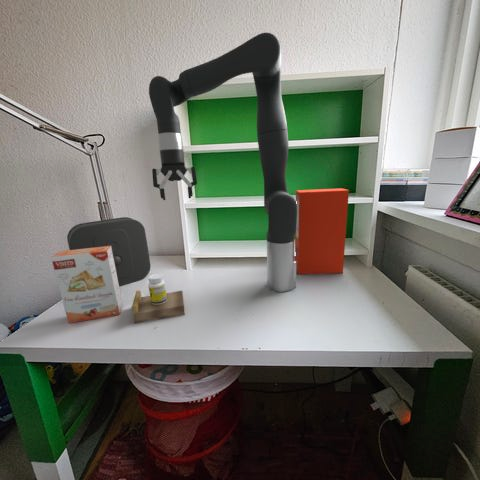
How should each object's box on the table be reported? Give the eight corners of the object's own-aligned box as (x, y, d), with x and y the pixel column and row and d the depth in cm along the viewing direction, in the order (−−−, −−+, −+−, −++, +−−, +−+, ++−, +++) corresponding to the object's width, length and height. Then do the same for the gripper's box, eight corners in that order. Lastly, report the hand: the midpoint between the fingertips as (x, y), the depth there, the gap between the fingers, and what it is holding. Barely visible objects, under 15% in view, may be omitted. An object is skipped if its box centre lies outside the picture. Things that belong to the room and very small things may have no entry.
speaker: (146, 271, 108) (137, 215, 101) (153, 277, 102) (144, 217, 95) (79, 291, 93) (63, 225, 86) (83, 299, 87) (66, 229, 80)
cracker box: (67, 325, 72) (49, 256, 66) (75, 314, 78) (58, 250, 72) (120, 315, 75) (106, 250, 70) (123, 305, 81) (111, 244, 75)
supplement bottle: (151, 299, 78) (147, 274, 76) (166, 296, 79) (163, 271, 77) (151, 306, 74) (147, 280, 71) (167, 303, 75) (164, 277, 73)
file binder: (343, 273, 97) (348, 190, 88) (298, 274, 98) (299, 192, 89) (336, 265, 104) (340, 188, 96) (294, 267, 105) (295, 190, 97)
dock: (183, 298, 84) (181, 284, 82) (184, 314, 74) (182, 298, 73) (139, 306, 80) (136, 291, 79) (134, 323, 71) (131, 306, 69)
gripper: (147, 148, 76) (155, 201, 80) (194, 147, 79) (199, 198, 84) (149, 150, 83) (156, 199, 87) (192, 149, 86) (197, 196, 91)
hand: (177, 199), depth 86 cm, fingers open, 8 cm apart
